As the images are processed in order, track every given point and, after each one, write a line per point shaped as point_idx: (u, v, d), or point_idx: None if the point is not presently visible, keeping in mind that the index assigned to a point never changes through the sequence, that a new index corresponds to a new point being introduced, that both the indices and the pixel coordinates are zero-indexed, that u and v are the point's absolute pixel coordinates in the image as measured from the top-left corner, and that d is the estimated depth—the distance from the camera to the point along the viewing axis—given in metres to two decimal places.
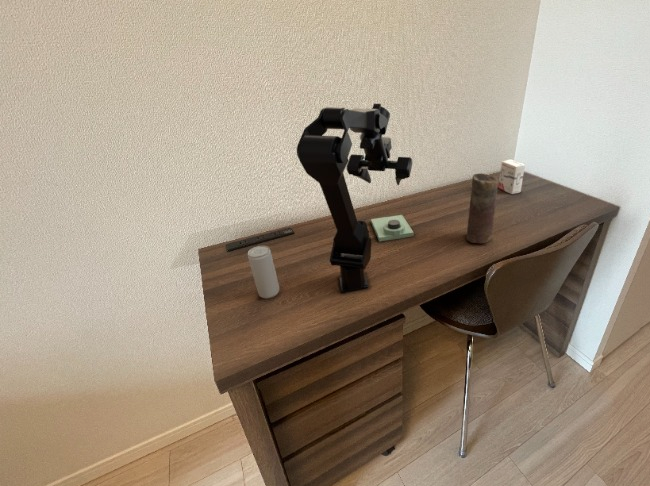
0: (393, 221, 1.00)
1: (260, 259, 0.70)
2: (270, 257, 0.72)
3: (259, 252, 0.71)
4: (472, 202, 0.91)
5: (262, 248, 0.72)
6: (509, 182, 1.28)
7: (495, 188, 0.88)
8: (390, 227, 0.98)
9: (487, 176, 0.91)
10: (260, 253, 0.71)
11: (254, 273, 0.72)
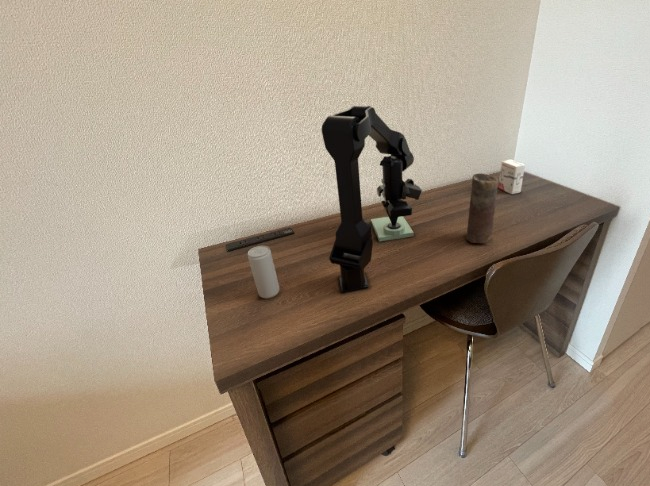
0: None
1: (260, 259, 0.70)
2: (270, 257, 0.72)
3: (259, 252, 0.71)
4: (472, 202, 0.91)
5: (262, 248, 0.72)
6: (509, 182, 1.28)
7: (495, 188, 0.88)
8: None
9: (487, 176, 0.91)
10: (260, 253, 0.71)
11: (254, 273, 0.72)
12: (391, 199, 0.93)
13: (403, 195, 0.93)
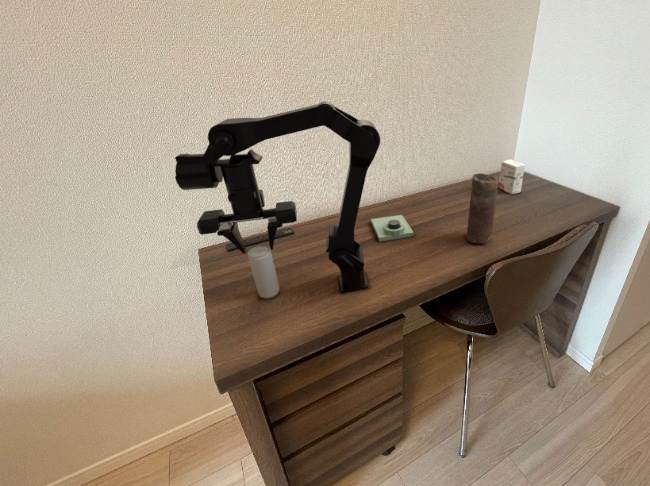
0: (393, 221, 1.00)
1: (260, 259, 0.70)
2: (270, 257, 0.72)
3: (259, 252, 0.71)
4: (472, 202, 0.91)
5: (262, 248, 0.72)
6: (509, 182, 1.28)
7: (495, 188, 0.88)
8: (390, 227, 0.98)
9: (487, 176, 0.91)
10: (260, 253, 0.71)
11: (254, 273, 0.72)
12: (261, 212, 0.67)
13: (263, 201, 0.69)
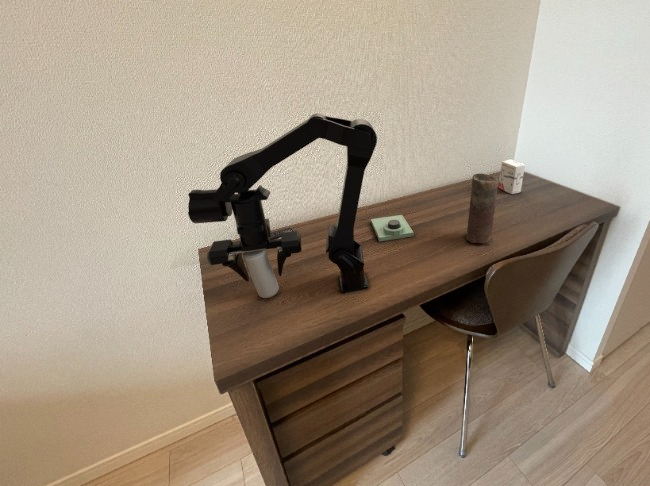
0: (393, 221, 1.00)
1: (255, 259, 0.70)
2: (266, 257, 0.72)
3: (254, 252, 0.71)
4: (472, 202, 0.91)
5: None
6: (509, 182, 1.28)
7: (495, 188, 0.88)
8: (390, 227, 0.98)
9: (487, 176, 0.91)
10: (255, 253, 0.70)
11: (251, 274, 0.72)
12: (267, 242, 0.70)
13: (269, 231, 0.73)
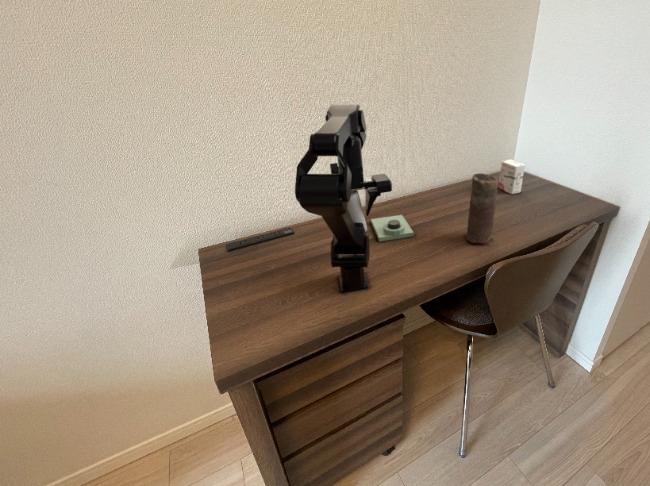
0: (393, 221, 1.00)
1: (352, 198, 0.78)
2: (359, 197, 0.80)
3: None
4: (472, 202, 0.91)
5: None
6: (509, 182, 1.28)
7: (495, 188, 0.88)
8: (390, 227, 0.98)
9: (487, 176, 0.91)
10: (351, 194, 0.79)
11: None
12: (363, 183, 0.78)
13: None
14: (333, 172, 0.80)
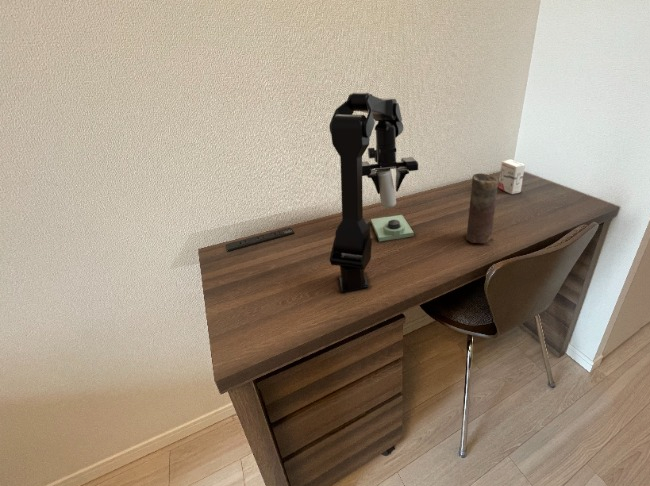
0: (393, 221, 1.00)
1: (386, 174, 0.97)
2: (391, 174, 0.99)
3: (383, 171, 0.98)
4: (472, 202, 0.91)
5: None
6: (509, 182, 1.28)
7: (495, 188, 0.88)
8: (390, 227, 0.98)
9: (487, 176, 0.91)
10: (385, 171, 0.97)
11: (381, 187, 0.99)
12: None
13: None
14: (371, 155, 1.00)
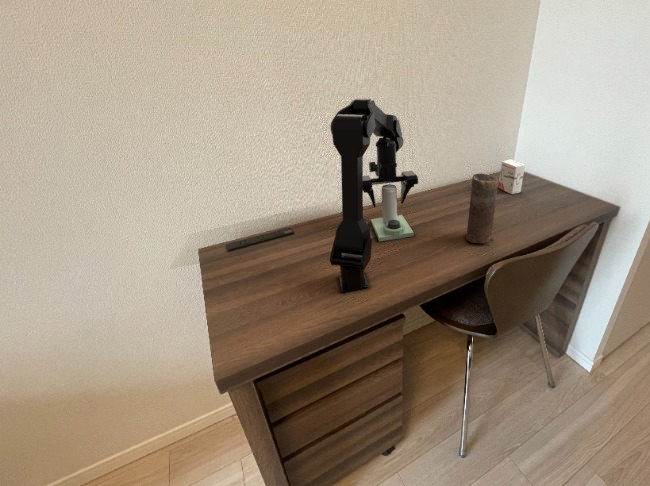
0: (393, 221, 1.00)
1: (392, 191, 1.00)
2: (396, 191, 1.02)
3: (389, 187, 1.01)
4: (472, 202, 0.91)
5: (390, 186, 1.02)
6: (509, 182, 1.28)
7: (495, 188, 0.88)
8: (390, 227, 0.98)
9: (487, 176, 0.91)
10: (391, 188, 1.00)
11: (385, 202, 1.01)
12: None
13: None
14: (372, 169, 1.02)
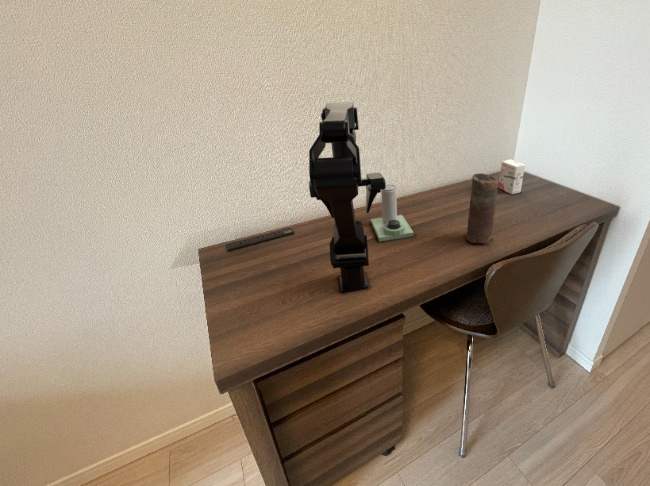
0: (393, 221, 1.00)
1: (392, 191, 1.00)
2: None
3: (389, 187, 1.01)
4: (472, 202, 0.91)
5: (390, 186, 1.02)
6: (509, 182, 1.28)
7: (495, 188, 0.88)
8: (390, 227, 0.98)
9: (487, 176, 0.91)
10: (390, 188, 1.00)
11: (385, 203, 1.01)
12: None
13: None
14: None
